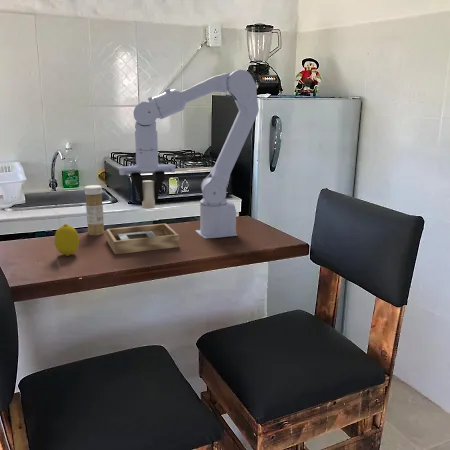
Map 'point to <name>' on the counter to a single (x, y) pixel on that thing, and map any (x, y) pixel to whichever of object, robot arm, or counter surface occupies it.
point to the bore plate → (135, 235)
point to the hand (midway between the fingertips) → (148, 200)
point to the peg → (148, 194)
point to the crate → (143, 239)
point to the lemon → (66, 240)
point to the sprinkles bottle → (94, 209)
